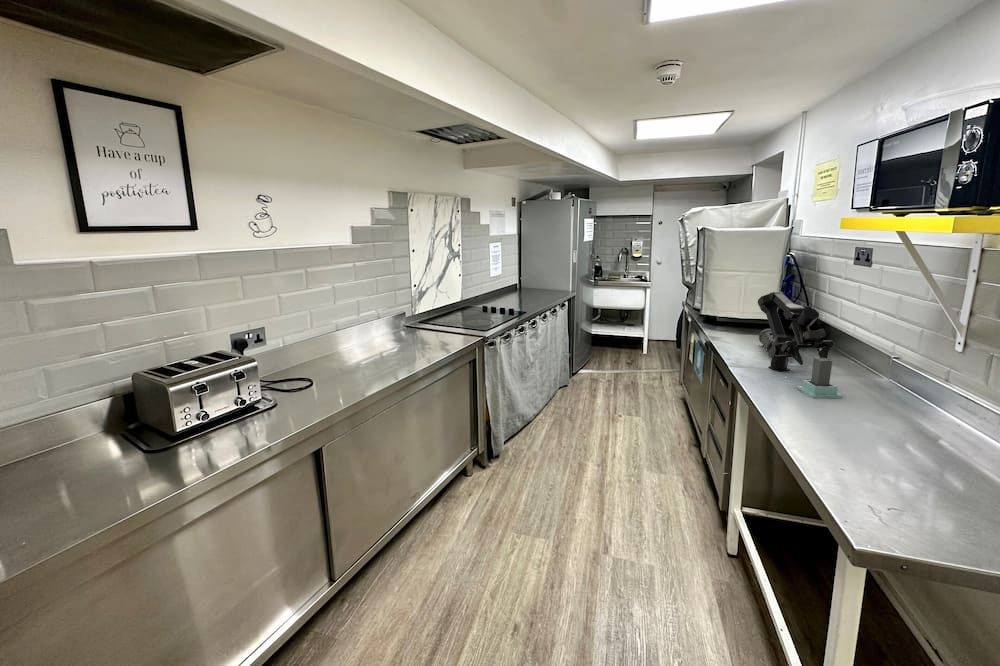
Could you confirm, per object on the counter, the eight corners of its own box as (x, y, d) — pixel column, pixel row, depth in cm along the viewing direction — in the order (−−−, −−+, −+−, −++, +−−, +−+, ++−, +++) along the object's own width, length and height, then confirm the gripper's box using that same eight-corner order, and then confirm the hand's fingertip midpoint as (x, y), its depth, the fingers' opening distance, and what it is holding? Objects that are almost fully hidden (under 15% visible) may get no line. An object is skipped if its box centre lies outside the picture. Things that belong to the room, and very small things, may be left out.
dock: (796, 388, 187) (797, 379, 186) (824, 388, 186) (826, 378, 185) (812, 397, 176) (813, 388, 175) (842, 397, 175) (843, 388, 174)
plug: (810, 388, 183) (813, 357, 180) (821, 388, 183) (825, 357, 180) (816, 392, 179) (820, 361, 176) (828, 392, 178) (832, 360, 176)
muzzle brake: (765, 358, 229) (767, 338, 227) (757, 345, 254) (758, 327, 252) (786, 359, 226) (789, 339, 223) (776, 346, 251) (778, 328, 249)
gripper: (787, 322, 186) (799, 355, 178) (835, 321, 184) (849, 354, 176) (776, 336, 195) (786, 368, 187) (821, 335, 194) (834, 367, 186)
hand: (813, 364), depth 184 cm, fingers open, 9 cm apart
